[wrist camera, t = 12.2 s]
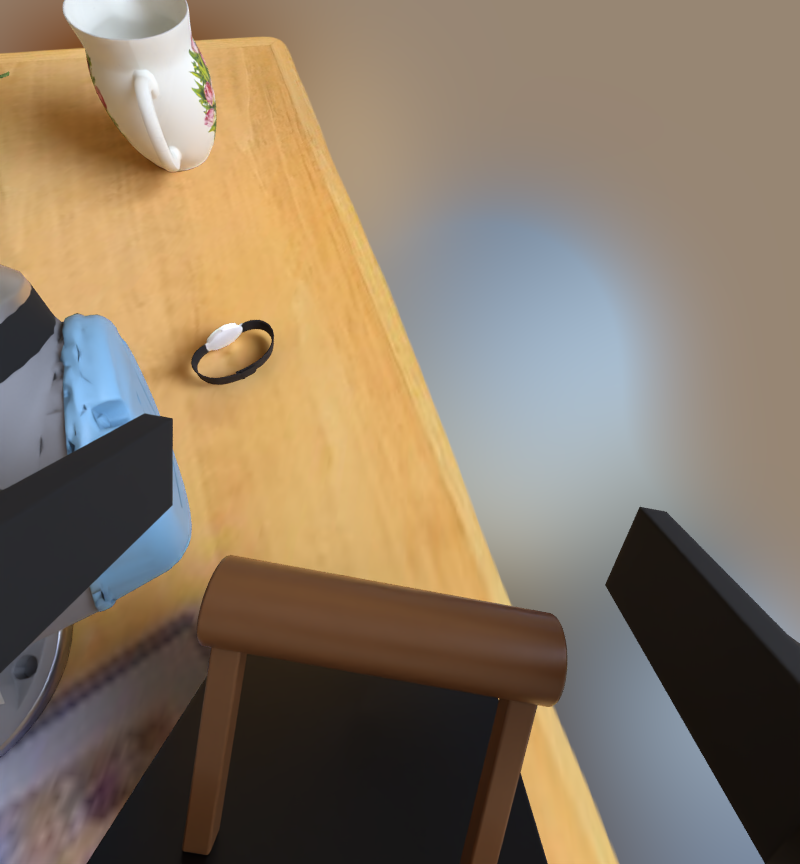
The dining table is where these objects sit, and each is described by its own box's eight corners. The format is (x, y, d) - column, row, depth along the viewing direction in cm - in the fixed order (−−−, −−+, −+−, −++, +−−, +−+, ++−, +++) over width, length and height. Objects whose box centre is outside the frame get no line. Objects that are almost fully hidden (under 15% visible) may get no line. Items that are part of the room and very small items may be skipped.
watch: (260, 323, 43) (252, 298, 40) (288, 356, 42) (283, 333, 38) (187, 364, 40) (173, 341, 37) (216, 401, 39) (203, 380, 36)
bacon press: (594, 1078, 9) (707, 714, 8) (23, 988, 9) (60, 599, 8) (472, 634, 24) (505, 490, 23) (263, 596, 24) (287, 448, 23)
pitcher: (131, 218, 47) (49, 68, 34) (126, 110, 53) (57, -49, 41) (238, 208, 49) (198, 63, 36) (221, 105, 55) (183, -48, 43)
